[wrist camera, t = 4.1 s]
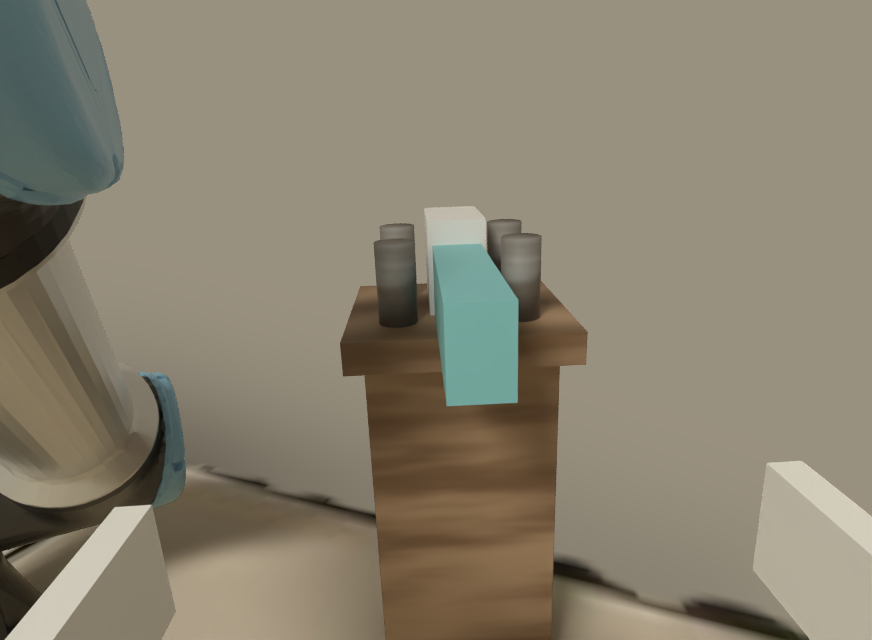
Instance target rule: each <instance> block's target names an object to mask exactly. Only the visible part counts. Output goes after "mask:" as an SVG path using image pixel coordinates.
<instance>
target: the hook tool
mask: <svg viewBox="0 0 872 640" xmlns="http://www.w3.org/2000/svg"><path fill="white" fill-rule="evenodd" d="M424 217H425V241H426V261H427V263H426V265H427V289H428V298H429V308H430V316H433V315H435V320H436V327H437V335H438V343H439V350H440V358H441V366H442V374H443V381H444V389H445V397H446V405H447V406H462V405H482V404H502V403H518V299H517V297H516V296H515V294H514V293H513V291H512V290H511V288H510V287H509V285H508V284H507V282H506V281H505V279H504V278H503V276H502V275H501V273H500V272H499V270H498V269H497V267H496V266H495V264H494V262H493V261H492V259H491V258H490V256H489V255H488V253H487V252H486V219H485V218H484V217H483V216H482V214H481V213H479V211H478V210H477V209H476V208H475V207H474V206H462V207H438V208H424Z"/></svg>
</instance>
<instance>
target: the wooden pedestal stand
mask: <svg viewBox="0 0 872 640" xmlns="http://www.w3.org/2000/svg"><path fill="white" fill-rule="evenodd" d="M380 239H381V240H379V241H375V242H374V254H375V269H376V283H377V286H362V287H360V289H359V292H358V295H357V297H356V300H355V303H354V306H353V309H352V311H351V314H350V317H349V320H348V323H347V325H346V329H345V331H344V334H343V337H342V340H341V342H340V347H341V358H342V369H343V376H361V375H365V386H366V399H367V412H368V424H369V436H370V449H371V462H372V474H373V487H374V499H375V512H376V524H377V537H378V549H379V562H380V574H381V587H382V599H383V612H384V624H385V637H386V640H551V618H552V588H553V557H554V527H555V526H554V525H555V524H554V523H555V496H556V495H555V494H556V465H557V435H558V434H557V433H558V405H559V403H558V402H559V374H560V366H566V365H586V352H587V331H586V330H585V329H584V327H583V326H582V325H581V324H580V323H579V322H578V321H577V320H576V319H575V318H574V317H573V316H572V314H571V313H570V312H569V311H568V310H567V309H566V308H565V307H564V306H563V305H562V303H561V302H560V301H559V300H558V299H557V298H556V297H555V296H554V295H553V294H552V292H551V291H550V290H549V289H548V288H547V287H546V286H545V285H544V284H543V283H542V281H541V235H538V234H530V233H521V221H520V220H514V219H498V220H491V221H488V222H487V245H488V246H487V248H488V250H487V251H488V255H489V256H490V258H491V259H492V261H493V262H494V264H495V266H496V267H497V269H498V270H499V272H500V273H501V275H502V276H503V278H504V279H505V281H506V282H507V284H508V285H509V287H510V288H511V290H512V291H513V293H514V294H515V296H516V297H517V299H518V403H502V404H482V405H462V406H447V405H446V397H445V389H444V381H443V374H442V366H441V358H440V350H439V343H438V335H437V327H436V320H435V315H433V316H430V308H429V298H428V289H427V284H416V262H415V240H414V225H412V224H387V225H382V226H380Z"/></svg>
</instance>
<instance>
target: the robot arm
mask: <svg viewBox="0 0 872 640" xmlns="http://www.w3.org/2000/svg"><path fill="white" fill-rule="evenodd" d="M123 164H124V148H123V142H122V132H121V126H120V120H119V115H118V111H117V107H116V103H115V98H114V93H113V88H112V83H111V80H110V76H109V71H108V68H107V64H106V60H105V57H104V53H103V49H102V45H101V43H100V40H99V37H98V34H97V32H96V28H95V24H94V21H93V19H92V16H91V12H90V9H89V7H88V5H87V3H86V0H0V640H161V639H162V637H163V635H164V633H165V631H166V629H167V627H168V625H169V623H170V621H171V619H172V617H173V615H174V613H175V611H176V610H175V606H174V601H173V597H172V592H171V588H170V584H169V579H168V575H167V570H166V566H165V561H164V557H163V552H162V548H161V543H160V539H159V534H158V530H157V526H156V521H155V517H154V512H153V509H154V508H157V507H160V506H163V505H165V504H168V503H171V502H173V501H174V500H176V499H177V498H178V497H179V496H180V495H181V493H182V492H183V489H184V486H185V479H186V466H185V460H184V452H185V448H184V439H183V432H182V425H181V418H180V413H179V408H178V403H177V399H176V395H175V391H174V388H173V386H172V384H171V381H170V380H169V378H168V377H167V376H166V375H165V374H163V373H159V372H155V373H148V372H141V373H137V372H135V371H134V370H133V369H131V368H130V367H128V366H127V365H125V364H123V363H120V362H118V361H117V360H116V358H115V355H114V353H113V350H112V348H111V345H110V343H109V340H108V338H107V335H106V332H105V330H104V327H103V325H102V322H101V320H100V318H99V315H98V312H97V310H96V307H95V305H94V302H93V300H92V297H91V294H90V292H89V290H88V287H87V284H86V282H85V279H84V277H83V274H82V272H81V269H80V267H79V264H78V261H77V259H76V256H75V254H74V252H73V249H72V246H71V244H70V241H69V237H70V235H71V234H72V232H73V230H74V229H75V227H76V225H77V224H78V221H79V219H80V217H81V214H82V212H83V209H84V206H85V201H86V196H87V195H88V194H93V193H98V192H100V191H103V190H105V189H107V188H109V187H110V186H112V185H113V184H115V183H116V182H117V181H118V180H119V179H120V176H121V173H122V170H123ZM98 524H100V526H99V527H98V528H97V529H96V530H95V532H94V533H93V534H92V535H91V537H90V538H89V539H88V540H87V541H86V543H85V544H84V545H83V546H82V547H81V549H80V550H79V551H78V552H77V553H76V555H75V556H74V557H73V558H72V559H71V561H70V562H69V563H68V564H67V565H66V567H65V568H64V569H63V570H62V571H61V573H60V574H59V575H58V576H57V577H56V579H55V580H54V581H53V582H52V583H51V585H50V586H49V587H48V588H47V589H46V591H45V592H44V593H43V594H42V595H41V594H40V593H39V592H38V591H37V590H36V589H35V588H34V587H33V586H32V585H31V584H30V583H29V582H28V581H27V580H26V579H25V578H24V577H23V576H22V575H21V574H20V573H19V572H18V571H17V570H16V569H15V568H14V567H13V566H12V565H11V564H10V563H9V562H8V561H7V560H6V559H5V557H4V556H3V553H2V551H5V550H9V549H11V548H15V547H18V546H22V545H26V544H29V543H33V542H37V541H40V540H44V539H47V538H51V537H55V536H58V535H62V534H66V533H69V532H73V531H76V530H80V529H84V528H87V527H91V526H95V525H98ZM753 570H754V572H755V573H756V574H757V575H758V576H759V577H760V579H761V580H762V581H763V583H764V584H765V585H766V586H767V587H768V589H769V590H770V591H771V592H772V594H773V595H774V596H775V597H776V598H777V600H778V601H779V602H780V603H781V605H782V606H783V607H784V608H785V609H786V611H787V612H788V613H789V614H790V616H791V617H792V618H793V619H794V621H795V622H796V623H797V624H798V625H799V627H800V628H801V629H802V630H803V632H804V633H805V634H806V635H807V636H808V638H809V639H810V640H872V516H870V515H869V514H868V513H867V512H865V511H864V510H863V509H862V508H860V507H859V506H858V505H857V504H855V503H854V502H852V500H850V499H849V498H848V497H846V496H845V495H844V494H843V493H841V492H840V491H839V490H838V489H836V488H835V487H834V486H833V485H831V484H830V483H829V482H827V481H826V480H825V479H824V478H823V477H821V476H820V475H819V474H817V473H816V472H815V471H814V470H812V469H811V468H810V467H809V466H807V465H806V464H805V463H804V462H802V461H792V462H777V463H767V465H766V473H765V480H764V488H763V496H762V503H761V511H760V519H759V526H758V533H757V541H756V548H755V556H754V563H753Z"/></svg>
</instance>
